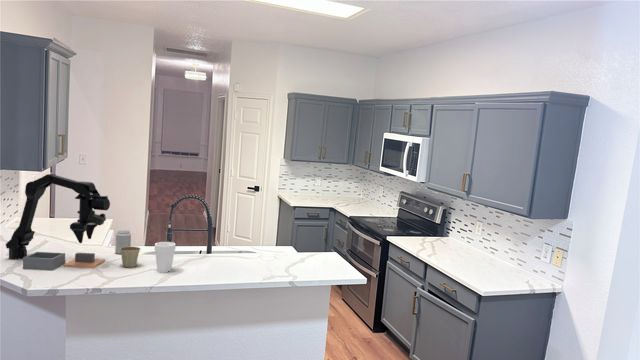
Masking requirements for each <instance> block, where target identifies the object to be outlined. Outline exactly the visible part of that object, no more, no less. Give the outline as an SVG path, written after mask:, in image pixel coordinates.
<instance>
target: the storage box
mask: <svg viewBox="0 0 640 360" xmlns="http://www.w3.org/2000/svg"><path fill="white" fill-rule="evenodd" d="M65 263H66V253H65V252H50V251H35V252H33V253H31V254H29V255H28V254H27V256H26V257H23V259H22V269H23V270H33V271H35V270H38V271H54V270H57V269H58V268H60V267H62V266H63V265H64V264H65Z"/></svg>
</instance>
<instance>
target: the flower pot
mask: <svg viewBox="0 0 640 360" xmlns="http://www.w3.org/2000/svg"><path fill="white" fill-rule="evenodd" d="M120 251H121V254H120V255H121V263H122V267H124V268H127V267H129V268H133V267H136V266H137V264H138V258H139V253H140V251H141V247H139V246H131V247H122V248H120Z"/></svg>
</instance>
